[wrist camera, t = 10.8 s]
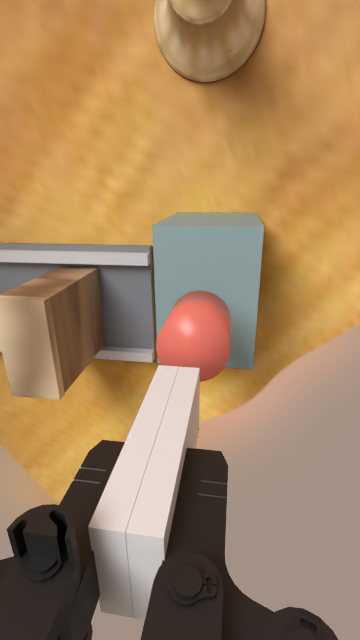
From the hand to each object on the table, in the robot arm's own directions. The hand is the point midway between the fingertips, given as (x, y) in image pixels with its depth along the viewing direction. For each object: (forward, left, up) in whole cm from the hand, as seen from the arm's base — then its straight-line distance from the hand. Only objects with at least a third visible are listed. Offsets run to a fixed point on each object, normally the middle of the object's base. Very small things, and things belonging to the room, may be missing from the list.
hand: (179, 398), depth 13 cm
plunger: (0, 0, -8) cm, 8 cm away
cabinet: (0, 0, -21) cm, 21 cm away
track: (-17, -4, -21) cm, 28 cm away
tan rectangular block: (-13, -4, -20) cm, 24 cm away
